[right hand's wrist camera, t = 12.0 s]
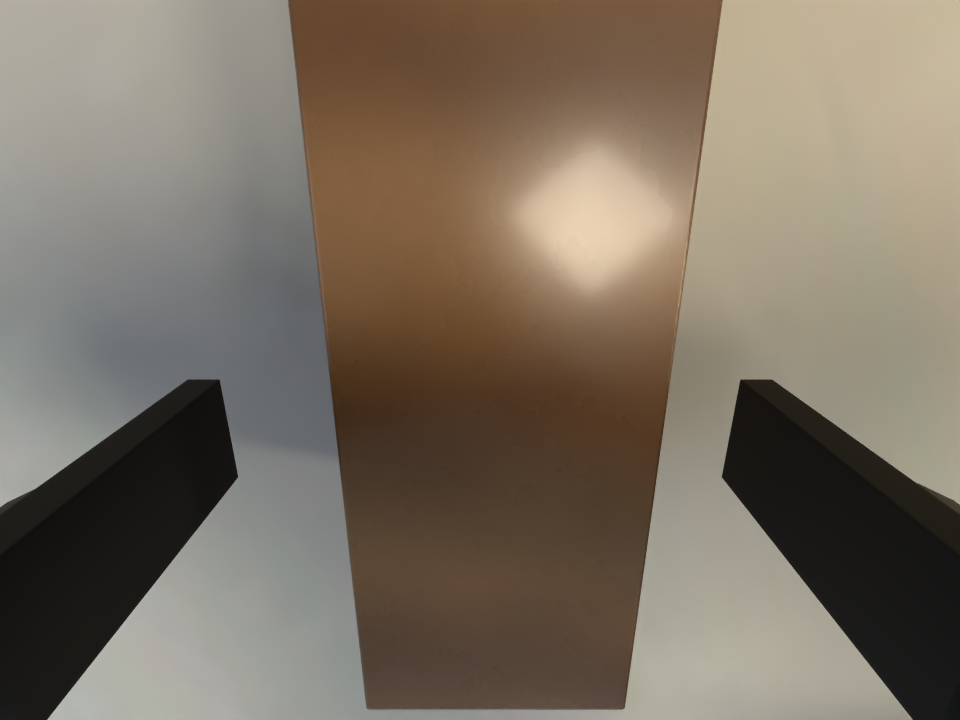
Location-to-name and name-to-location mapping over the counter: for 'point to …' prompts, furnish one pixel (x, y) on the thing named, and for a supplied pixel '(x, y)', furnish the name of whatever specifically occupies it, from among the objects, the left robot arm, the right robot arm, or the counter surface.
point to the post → (500, 324)
